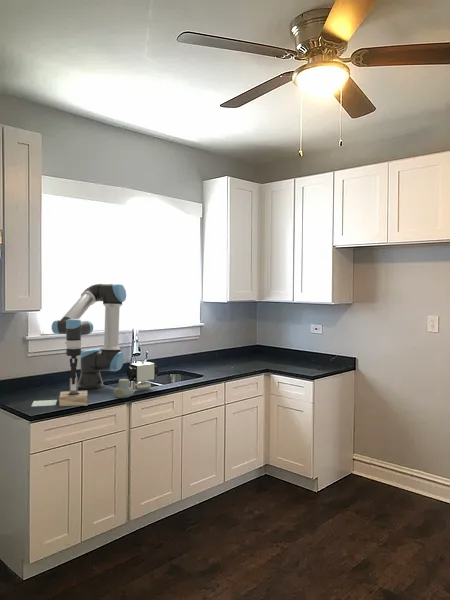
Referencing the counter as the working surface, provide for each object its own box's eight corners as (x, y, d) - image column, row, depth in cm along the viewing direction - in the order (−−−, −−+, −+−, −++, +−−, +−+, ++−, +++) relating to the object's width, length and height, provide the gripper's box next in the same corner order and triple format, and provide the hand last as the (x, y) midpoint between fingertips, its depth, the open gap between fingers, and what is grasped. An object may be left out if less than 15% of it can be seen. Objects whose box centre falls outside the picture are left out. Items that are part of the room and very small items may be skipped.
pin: (70, 402, 270) (69, 376, 269) (77, 402, 271) (77, 376, 270) (69, 404, 266) (69, 378, 265) (77, 403, 267) (77, 377, 266)
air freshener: (111, 397, 282) (111, 379, 282) (121, 394, 289) (121, 377, 289) (126, 399, 277) (126, 381, 276) (136, 396, 284) (136, 379, 283)
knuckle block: (60, 400, 273) (60, 391, 273) (87, 399, 277) (87, 390, 277) (59, 407, 260) (59, 397, 259) (87, 405, 263) (87, 396, 263)
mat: (33, 401, 270) (33, 401, 270) (57, 400, 273) (57, 399, 273) (31, 407, 259) (31, 406, 259) (55, 406, 262) (55, 405, 262)
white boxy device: (151, 386, 311) (151, 358, 310) (158, 389, 304) (158, 360, 303) (125, 390, 299) (125, 361, 299) (132, 393, 293) (132, 363, 292)
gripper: (67, 345, 278) (67, 383, 279) (65, 351, 254) (65, 392, 255) (81, 344, 280) (81, 382, 281) (80, 350, 256) (80, 392, 257)
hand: (73, 387), depth 268 cm, fingers open, 13 cm apart
